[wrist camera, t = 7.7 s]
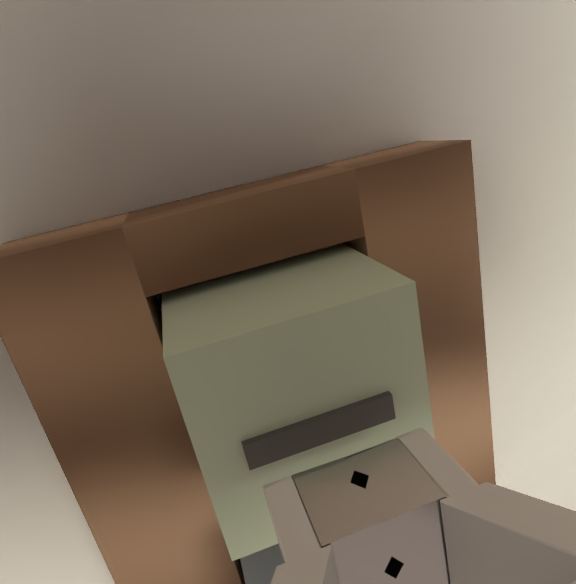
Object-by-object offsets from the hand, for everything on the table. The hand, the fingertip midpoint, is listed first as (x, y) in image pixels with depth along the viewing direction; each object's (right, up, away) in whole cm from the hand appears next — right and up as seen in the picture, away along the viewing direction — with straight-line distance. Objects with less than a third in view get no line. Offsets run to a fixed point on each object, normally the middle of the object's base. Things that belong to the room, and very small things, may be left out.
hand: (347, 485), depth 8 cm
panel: (0, -4, +9) cm, 10 cm away
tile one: (-1, +2, +5) cm, 6 cm away
